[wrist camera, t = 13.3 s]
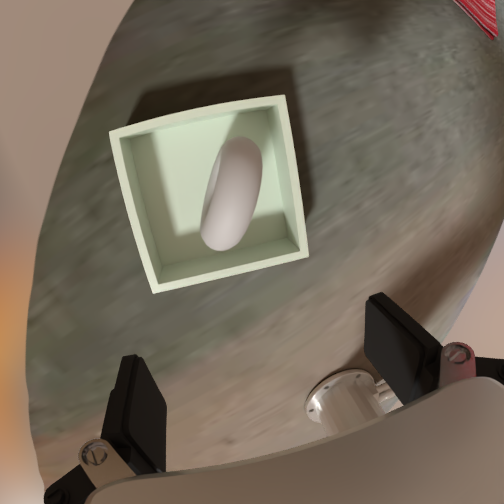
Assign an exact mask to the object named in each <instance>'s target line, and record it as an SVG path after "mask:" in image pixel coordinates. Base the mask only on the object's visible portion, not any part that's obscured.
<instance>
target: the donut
mask: <svg viewBox="0 0 504 504" xmlns="http://www.w3.org/2000/svg"><path fill="white" fill-rule="evenodd" d="M262 170H263V163H262V156H261V151H260V149H259V147H258V146H257V145H256V144H255V143H254V142H253V141H252V140H251V139H249V138H246V137H242V136H237V137H232V138H231V139H229V140H227V141H226V142H225V143H224V144H223V145H222V146H221V148H220V150H219V152H218V155H217V157H216V160H215V162H214V165H213V168H212V171H211V174H210V178H209V182H208V185H207V189H206V193H205V198H204V203H203V208H202V214H201V223H200V233H201V237H202V239H203V240H204V242H205V243H206V245H207V246H209V247H210V248H211V249H214V250H216V251H224V250H228V249H230V248H232V247H234V246H235V245H236V244H238V243H239V241H240V240H241V239H242V237H243V236H244V234H245V233H246V231H247V229H248V226H249V224H250V222H251V219H252V216H253V214H254V211H255V208H256V204H257V200H258V196H259V192H260V187H261V180H262Z"/></svg>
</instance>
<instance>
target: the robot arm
mask: <svg viewBox="0 0 504 504" xmlns="http://www.w3.org/2000/svg"><path fill="white" fill-rule="evenodd" d="M364 352H365V355H366V357H367V358H368V359H369V360H370V362H371V363H372V364H373V366H374V367H375V368H376V370H377V371H378V372H379V374H380V375H381V376H382V377H383V379H384V380H385V381H386V382H385V383H383V384H381V385H379V386H376V385H375V384H374V380H373V378H372V376H371V375H370V374H369V373H368V372H367V371H364V370H361V369H351V370H346V371H342V372H340V373H337V374H335V375H333V376H331V377H329V378H327V379H326V380H324V381H323V382H322V383H320V384H319V385H318V386H317V387H316V388H315V389H314V390H313V391H312V392H311V394H310V395H309V397H308V399H307V400H306V404H305V410H306V413H307V415H308V417H309V418H310V419H311V420H313V421H315V422H318V423H322V425H323V427H324V430H325V432H326V434H327V436H328V437H326V438H323V439H320V440H317V441H314V442H311V443H308V444H305V445H301V446H298V447H294V448H291V449H287V450H284V451H280V452H276V453H272V454H268V455H264V456H260V457H256V458H251V459H247V460H242V461H237V462H232V463H227V464H221V465H215V466H209V467H202V468H195V469H188V470H180V471H171V472H166V418H167V406H166V402H165V400H164V398H163V396H162V394H161V392H160V391H159V389H158V387H157V385H156V383H155V381H154V379H153V377H152V375H151V373H150V371H149V370H148V368H147V366H146V364H145V361H144V360H143V358H142V357H138V356H137V355H136V354H135V355H128V356H123V357H122V360H121V364H120V368H119V372H118V376H117V380H116V384H115V388H114V389H113V390H112V391H111V393H110V397H109V401H108V405H107V410H106V414H105V418H104V423H103V428H102V433H101V437H100V439H92V440H89V441H87V442H86V443H85V444H84V445H82V447H81V448H80V450H79V453H78V460H79V463H80V464H79V465H78V466H76V467H75V468H74V469H72V470H71V471H70V472H68V473H67V474H66V475H64V476H63V477H62V478H60V479H59V480H58V481H56V482H55V483H53V484H52V485H51V486H50V487H49V488H48V489H47V490H46V492H45V494H44V504H504V359H495V358H494V359H493V358H483V357H475V355H474V351H473V350H472V348H471V347H469V346H468V345H467V344H464V343H460V342H452V343H450V344H447V345H446V346H444V347H443V346H442V345H441V344H440V342H438V341H437V340H436V339H435V338H434V337H433V336H432V335H431V334H430V333H429V332H427V331H426V330H425V329H424V328H423V327H422V326H421V325H420V324H419V323H417V322H416V321H415V320H414V319H413V318H412V317H411V316H410V315H408V314H407V313H406V312H405V311H404V310H403V309H402V308H400V307H399V306H398V305H397V304H396V303H395V302H393V301H392V300H391V299H390V298H389V297H388V296H386V295H385V294H384V293H383V292H380V293H377V294H374V295H371V296H369V299H368V300H367V301H366V306H365V338H364ZM395 395H396V396H397V397H398V399H399V400H400V401H401V403H402V404H403V405H404V406H402V407H400V408H397V409H396V410H393V411H391V412H389V413H387V414H386V413H385V412H384V410H383V409H382V407H381V406H380V402H381V401H384V400H387V399H389V398H391V397H393V396H395Z"/></svg>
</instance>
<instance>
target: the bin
mask: <svg viewBox="0 0 504 504" xmlns="http://www.w3.org/2000/svg"><path fill="white" fill-rule="evenodd" d="M109 136H110V141H111V145H112V150H113V155H114V160H115V164H116V168H117V173H118V177H119V181H120V185H121V189H122V193H123V197H124V201H125V205H126V208H127V212H128V216H129V219H130V223H131V226H132V230H133V233H134V237H135V240H136V243H137V247H138V250H139V253H140V256H141V259H142V262H143V266H144V269H145V272H146V275H147V278H148V281H149V283H150V286H151V289H152V292H153V294H154V293H158V292H163V291H167V290H171V289H176V288H180V287H185V286H189V285H193V284H198V283H202V282H206V281H210V280H215V279H219V278H223V277H228V276H232V275H236V274H240V273H244V272H249V271H253V270H257V269H261V268H265V267H269V266H273V265H277V264H281V263H286V262H290V261H294V260H298V259H302V258H306V257H309V253H308V245H307V236H306V228H305V220H304V212H303V205H302V197H301V190H300V183H299V176H298V170H297V163H296V157H295V151H294V144H293V138H292V132H291V127H290V121H289V115H288V110H287V104H286V99H285V95H277V96H268V97H261V98H253V99H246V100H240V101H233V102H227V103H222V104H216V105H211V106H206V107H201V108H196V109H191V110H187V111H182V112H178V113H174V114H170V115H166V116H162V117H158V118H154V119H150V120H147V121H143V122H140V123H136V124H133V125H129V126H126V127H123V128H120V129H116V130H113V131H110V132H109ZM237 136H242V137H246V138H249V139H251V140H252V141H253V142H254V143H255V144H256V145H257V146H258V147H259V149H260V151H261V156H262V163H263V170H262V180H261V187H260V192H259V196H258V200H257V204H256V208H255V211H254V214H253V216H252V219H251V222H250V224H249V226H248V229H247V231H246V233H245V234H244V236H243V237H242V239H241V240H240V241H239V243H238V244H236V245H235V246H234V247H232V248H230V249H228V250H224V251H216V250H214V249H211V248H210V247H209V246H207V245H206V243H205V242H204V240H203V239H202V237H201V233H200V223H201V214H202V208H203V203H204V198H205V193H206V189H207V185H208V182H209V178H210V174H211V171H212V168H213V165H214V162H215V160H216V157H217V155H218V152H219V150H220V148H221V146H222V145H223V144H224V143H225V142H226V141H227V140H229V139H231V138H232V137H237Z"/></svg>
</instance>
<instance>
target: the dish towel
mask: <svg viewBox="0 0 504 504" xmlns="http://www.w3.org/2000/svg"><path fill="white" fill-rule="evenodd" d="M453 1H454V2H455V3H456V4H457V5H458V6H459V7H460V8H461V9H462V10H463V11H464V12H465V13H466V14H467V15H468V16H469V17H470V18H471V19H472V20H473V21H474V22H475V23H476V24H477V25H478V26H479V27H480V28H481V29H482V30H483V31H484V32H485V33H486V34H487V36H488V37H489V38H490V39H491V40H493V39H494V37H497V36H498V30H497V23H496V9H495V0H453Z"/></svg>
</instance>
